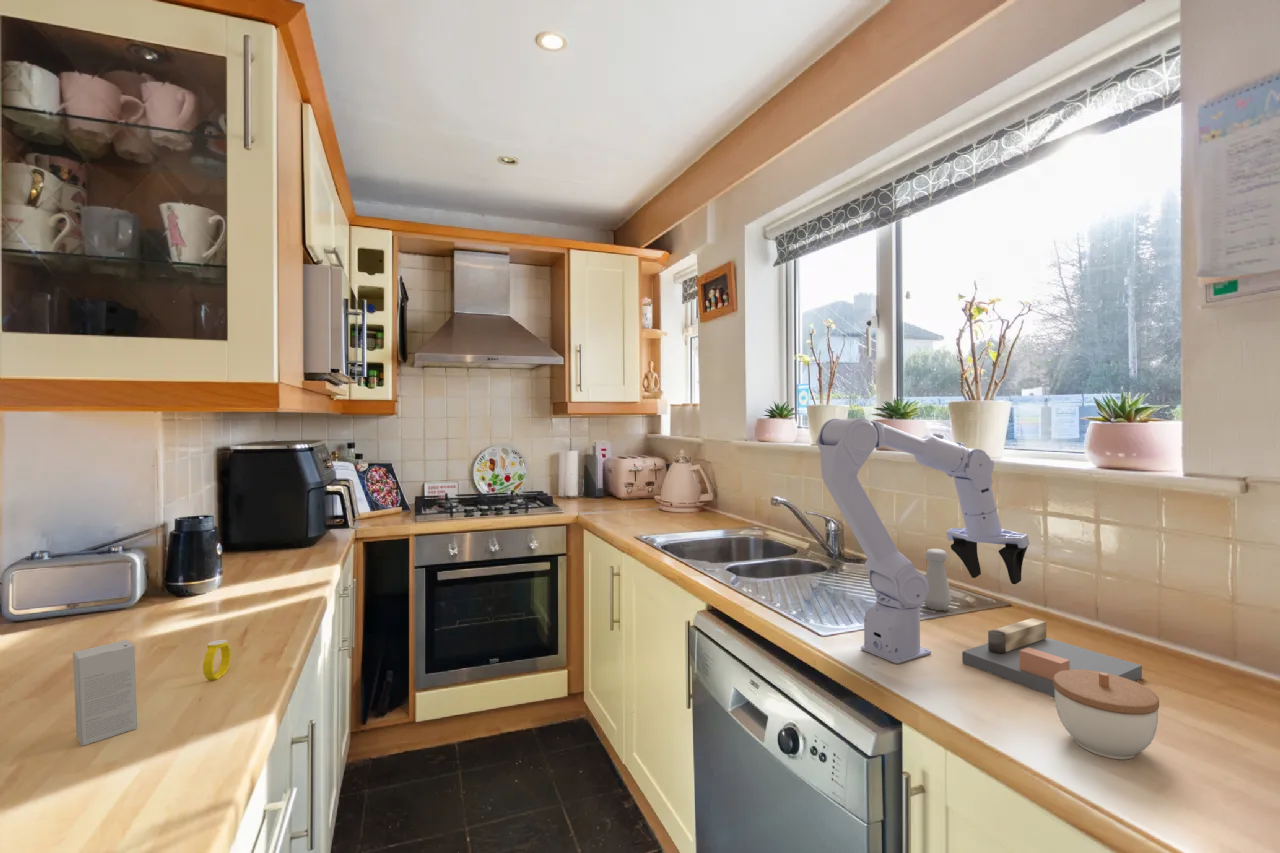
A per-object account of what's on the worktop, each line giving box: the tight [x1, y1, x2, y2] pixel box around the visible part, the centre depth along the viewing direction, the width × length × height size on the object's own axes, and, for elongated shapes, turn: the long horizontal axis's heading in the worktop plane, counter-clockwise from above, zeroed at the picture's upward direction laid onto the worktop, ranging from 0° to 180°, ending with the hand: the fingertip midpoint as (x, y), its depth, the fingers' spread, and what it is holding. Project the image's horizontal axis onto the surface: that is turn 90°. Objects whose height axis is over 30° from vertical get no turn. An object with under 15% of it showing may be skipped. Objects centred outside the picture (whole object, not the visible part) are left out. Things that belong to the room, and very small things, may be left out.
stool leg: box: [987, 617, 1047, 653], centre depth 105 cm, size 14×3×3 cm, turn 118°
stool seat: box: [961, 636, 1143, 698], centre depth 99 cm, size 19×18×5 cm
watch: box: [202, 639, 232, 681], centre depth 102 cm, size 6×3×6 cm, turn 9°
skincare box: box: [72, 639, 138, 747], centre depth 83 cm, size 6×4×12 cm
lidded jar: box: [1053, 670, 1160, 761], centre depth 77 cm, size 11×11×9 cm
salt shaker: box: [923, 548, 952, 611], centre depth 132 cm, size 6×6×13 cm
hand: (995, 579), depth 112 cm, fingers open, 7 cm apart
